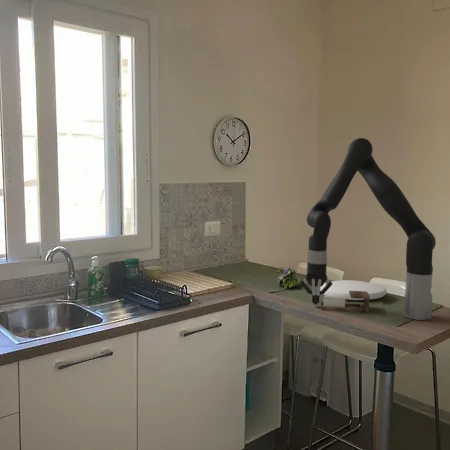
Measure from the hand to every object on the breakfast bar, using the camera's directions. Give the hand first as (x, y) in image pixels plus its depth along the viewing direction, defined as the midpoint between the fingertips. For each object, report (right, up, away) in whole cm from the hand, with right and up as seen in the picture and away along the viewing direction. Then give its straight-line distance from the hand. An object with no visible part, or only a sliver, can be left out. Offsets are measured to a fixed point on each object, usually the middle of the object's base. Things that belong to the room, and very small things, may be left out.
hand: (315, 304), depth 207 cm
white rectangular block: (+7, -1, -1) cm, 7 cm away
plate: (+20, 0, +21) cm, 29 cm away
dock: (+11, -3, -1) cm, 11 cm away
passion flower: (-6, +2, +36) cm, 37 cm away
